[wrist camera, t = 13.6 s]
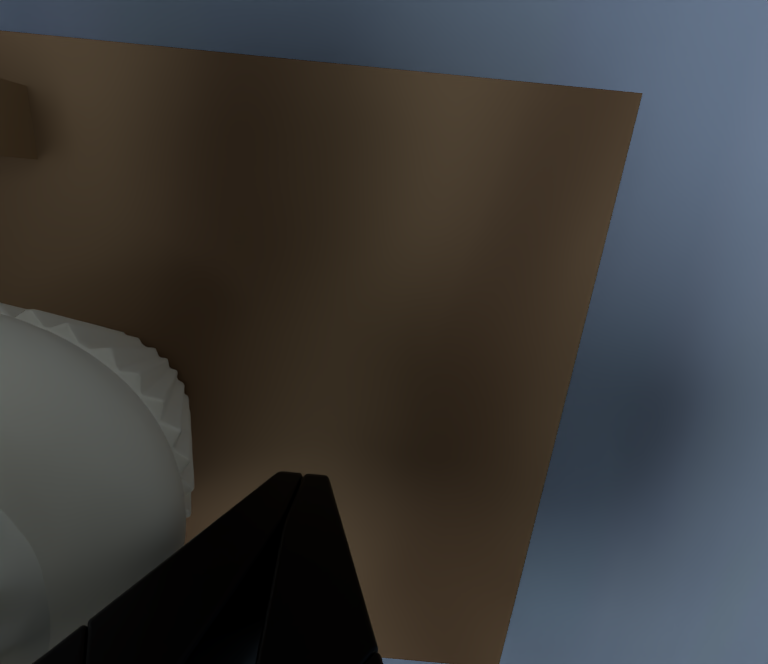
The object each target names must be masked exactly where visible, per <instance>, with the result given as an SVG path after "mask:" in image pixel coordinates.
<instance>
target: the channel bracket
mask: <svg viewBox="0 0 768 664" xmlns="http://www.w3.org/2000/svg"><path fill="white" fill-rule="evenodd" d="M641 97H642V93H634V92H623V91H613V90H603V89H593V88H582V87H572V86H562V85H552V84H542V83H531V82H521V81H511V80H501V79H490V78H480V77H470V76H460V75H450V74H439V73H429V72H419V71H409V70H398V69H388V68H378V67H368V66H357V65H347V64H337V63H327V62H317V61H306V60H296V59H286V58H276V57H265V56H255V55H245V54H235V53H224V52H214V51H204V50H194V49H184V48H173V47H163V46H153V45H143V44H132V43H122V42H112V41H102V40H91V39H81V38H71V37H61V36H51V35H40V34H30V33H20V32H10V31H0V303H3V304H8V305H12V306H16V307H20V308H24V309H36V310H40V311H44V312H48V313H52V314H56V315H60V316H63V317H67V318H71V319H75V320H79V321H83V322H87V323H90V324H94V325H98V326H102V327H105V328H109V329H113V330H117V331H120V332H124V333H125V334H126V335H129V336H133V337H137V338H139V339H140V341H141V343H142V344H143V345H144V346H146V347H151V348H156V351H157V353H158V355H159V356H160V357H161V358H167V359H168V362H169V367H170V368H172V369H174V370H177V372H178V375H177V378H178V380H179V381H181V382H183V384H184V393H185V394H186V395H187V396H188V398H189V409H190V415H191V435H192V455H193V470H194V490H193V491H192V492H191V515H190V517H187V518H186V535H185V543H184V545H185V544H186V543H188V542H189V541H190V540H191V539H193V538H194V537H195V536H196V535H198V534H199V533H200V532H202V531H203V530H204V529H205V528H207V527H208V526H209V525H211V524H212V523H213V522H214V521H216V520H217V519H218V518H219V517H221V516H222V515H223V514H225V513H226V512H227V511H228V510H230V509H231V508H232V507H234V506H235V505H236V504H237V503H239V502H240V501H241V500H242V499H244V498H245V497H246V496H248V495H249V494H250V493H251V492H253V491H254V490H255V489H256V488H258V487H259V486H260V485H262V484H263V483H264V482H265V481H267V480H268V479H269V478H271V477H272V476H273V475H274V474H276V473H277V472H279V471H288V472H298V473H301V474H302V475H303V477H304V475H306V474H319V475H327V476H328V477H329V479H330V483H331V486H332V490H333V493H334V497H335V500H336V504H337V507H338V511H339V514H340V517H341V521H342V524H343V528H344V531H345V535H346V538H347V542H348V545H349V549H350V552H351V555H352V559H353V562H354V566H355V569H356V573H357V576H358V580H359V583H360V587H361V590H362V594H363V597H364V600H365V604H366V607H367V611H368V614H369V618H370V621H371V625H372V628H373V632H374V635H375V638H376V642H377V645H378V653H379V654H380V655H381V658H393V659H404V660H415V661H426V662H437V663H448V664H499V662H500V658H501V654H502V650H503V646H504V642H505V638H506V634H507V630H508V626H509V622H510V618H511V614H512V610H513V606H514V602H515V599H516V595H517V591H518V587H519V583H520V579H521V575H522V571H523V567H524V563H525V559H526V555H527V551H528V547H529V543H530V539H531V535H532V531H533V527H534V523H535V519H536V515H537V511H538V507H539V503H540V499H541V495H542V491H543V487H544V483H545V479H546V475H547V471H548V467H549V463H550V459H551V455H552V451H553V447H554V443H555V439H556V435H557V431H558V427H559V423H560V419H561V415H562V411H563V407H564V403H565V399H566V395H567V391H568V387H569V384H570V380H571V376H572V372H573V368H574V364H575V360H576V356H577V352H578V348H579V344H580V340H581V336H582V332H583V328H584V324H585V320H586V316H587V312H588V308H589V304H590V300H591V296H592V292H593V288H594V284H595V280H596V276H597V272H598V268H599V264H600V260H601V256H602V252H603V248H604V244H605V240H606V236H607V232H608V228H609V224H610V220H611V216H612V212H613V208H614V204H615V200H616V196H617V192H618V188H619V184H620V180H621V176H622V172H623V168H624V165H625V161H626V157H627V153H628V149H629V145H630V141H631V137H632V133H633V129H634V125H635V121H636V117H637V113H638V109H639V105H640V101H641Z"/></svg>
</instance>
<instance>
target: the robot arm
mask: <svg viewBox="0 0 768 664" xmlns="http://www.w3.org/2000/svg"><path fill="white" fill-rule="evenodd" d="M32 664H383V661H382V658H381V655H380V654H379V653H378V645H377V642H376V638H375V635H374V632H373V628H372V625H371V621H370V618H369V614H368V611H367V607H366V604H365V600H364V597H363V594H362V590H361V587H360V583H359V580H358V576H357V573H356V569H355V566H354V562H353V559H352V555H351V552H350V549H349V545H348V542H347V538H346V535H345V531H344V528H343V524H342V521H341V517H340V514H339V511H338V507H337V504H336V500H335V497H334V493H333V490H332V486H331V483H330V479H329V477H328V476H327V475H319V474H306V475H304V477H303V475H302V474H301V473H298V472H288V471H279V472H277V473H276V474H274V475H273V476H272V477H271V478H269V479H268V480H267V481H265V482H264V483H263V484H262V485H260V486H259V487H258V488H256V489H255V490H254V491H253V492H251V493H250V494H249V495H248V496H246V497H245V498H244V499H242V500H241V501H240V502H239V503H237V504H236V505H235V506H234V507H232V508H231V509H230V510H228V511H227V512H226V513H225V514H223V515H222V516H221V517H219V518H218V519H217V520H216V521H214V522H213V523H212V524H211V525H209V526H208V527H207V528H205V529H204V530H203V531H202V532H200V533H199V534H198V535H196V536H195V537H194V538H193V539H191V540H190V541H189V542H188V543H186V544H185V545H184V546H182V547H181V548H180V549H179V550H177V551H176V552H175V553H174V554H172V555H171V556H170V557H168V558H167V559H166V560H165V561H163V562H162V563H161V564H159V565H158V566H157V567H156V568H154V569H153V570H152V571H151V572H149V573H148V574H147V575H145V576H144V577H143V578H142V579H140V580H139V581H138V582H136V583H135V584H134V585H133V586H131V587H130V588H129V589H128V590H126V591H125V592H124V593H122V594H121V595H120V596H119V597H117V598H116V599H115V600H114V601H112V602H111V603H110V604H108V605H107V606H106V607H105V608H103V609H102V610H101V611H99V612H98V613H97V614H96V615H94V616H93V617H92V618H91V619H89V621H88V625H87V626H86V625H82V626H80V627H79V628H77V629H76V630H75V631H74V632H72V633H71V634H70V635H68V636H67V637H66V638H65V639H63V640H62V641H61V642H60V643H58V644H57V645H56V646H54V647H53V648H52V649H51V650H49V651H48V652H47V653H45V654H44V655H43V656H41V657H40V658H39V659H37V660H36V661H35V662H33V663H32Z"/></svg>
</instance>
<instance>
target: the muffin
mask: <svg viewBox="0 0 768 664" xmlns="http://www.w3.org/2000/svg"><path fill="white" fill-rule="evenodd" d="M177 375H178V372H177V370H174V369H172V368H170V367H169V362H168V359H167V358H161V357H160V356H159V355H158V353H157V351H156V348H151V347H146V346H144V345H143V344H142V343H141V341H140V339H139V338H137V337H133V336H129V335H126V334H125V333H124V332H120V331H117V330H113V329H109V328H105V327H102V326H98V325H94V324H90V323H87V322H83V321H79V320H75V319H71V318H67V317H63V316H60V315H56V314H52V313H48V312H44V311H40V310H36V309H24V308H20V307H16V306H12V305H8V304H3V303H0V664H32V663H33V662H35V661H36V660H37V659H39V658H40V657H41V656H43V655H44V654H45V653H47V652H48V651H49V650H51V649H52V648H53V647H54V646H56V645H57V644H58V643H60V642H61V641H62V640H63V639H65V638H66V637H67V636H68V635H70V634H71V633H72V632H74V631H75V630H76V629H77V628H79V627H80V626H82V625H86V626H87V625H88V621H89V619H91V618H92V617H93V616H94V615H96V614H97V613H98V612H99V611H101V610H102V609H103V608H105V607H106V606H107V605H108V604H110V603H111V602H112V601H114V600H115V599H116V598H117V597H119V596H120V595H121V594H122V593H124V592H125V591H126V590H128V589H129V588H130V587H131V586H133V585H134V584H135V583H136V582H138V581H139V580H140V579H142V578H143V577H144V576H145V575H147V574H148V573H149V572H151V571H152V570H153V569H154V568H156V567H157V566H158V565H159V564H161V563H162V562H163V561H165V560H166V559H167V558H168V557H170V556H171V555H172V554H174V553H175V552H176V551H177V550H179V549H180V548H181V547H182V546H184V543H185V535H186V518H187V517H190V515H191V492H192V491H193V490H194V470H193V455H192V435H191V415H190V409H189V398H188V396H187V395H186V394H185V393H184V384H183V382H181V381H179V380H178V378H177Z"/></svg>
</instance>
